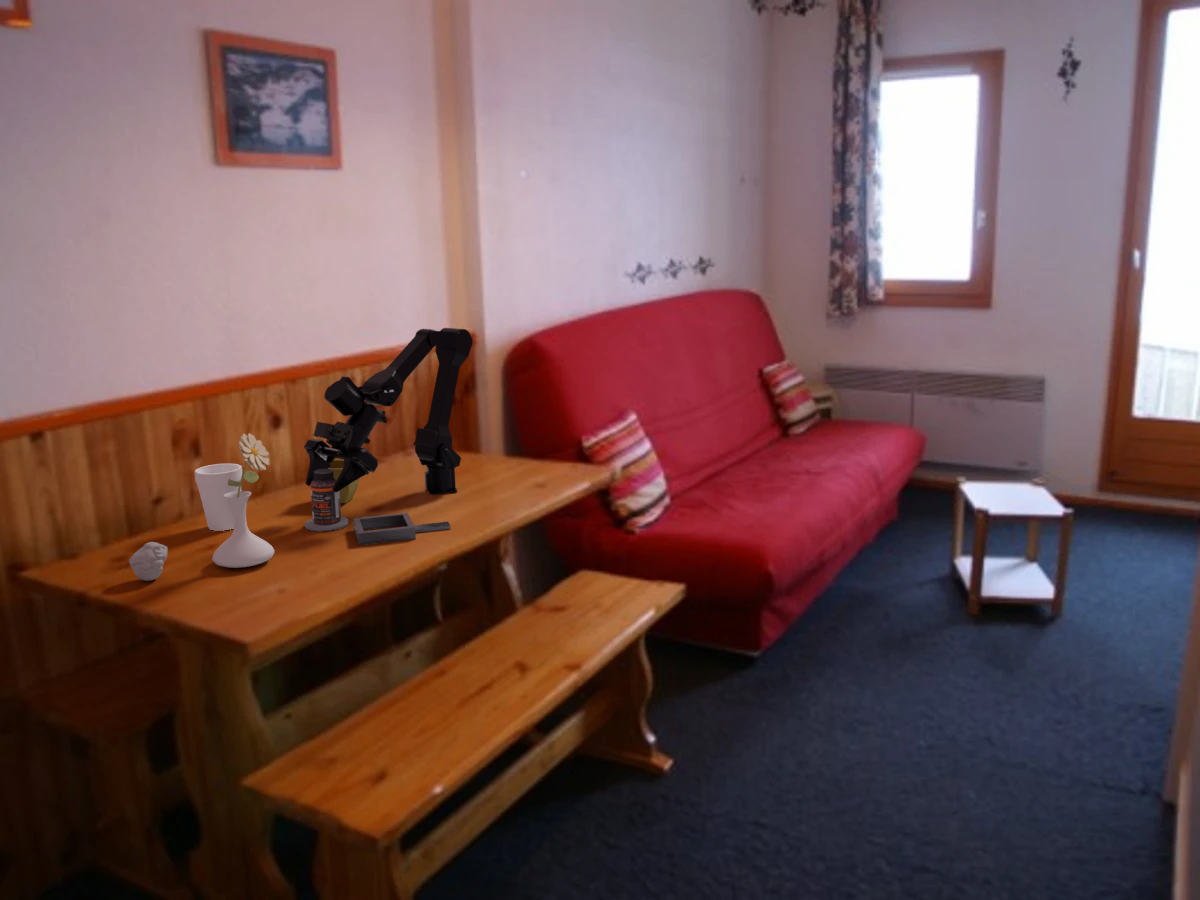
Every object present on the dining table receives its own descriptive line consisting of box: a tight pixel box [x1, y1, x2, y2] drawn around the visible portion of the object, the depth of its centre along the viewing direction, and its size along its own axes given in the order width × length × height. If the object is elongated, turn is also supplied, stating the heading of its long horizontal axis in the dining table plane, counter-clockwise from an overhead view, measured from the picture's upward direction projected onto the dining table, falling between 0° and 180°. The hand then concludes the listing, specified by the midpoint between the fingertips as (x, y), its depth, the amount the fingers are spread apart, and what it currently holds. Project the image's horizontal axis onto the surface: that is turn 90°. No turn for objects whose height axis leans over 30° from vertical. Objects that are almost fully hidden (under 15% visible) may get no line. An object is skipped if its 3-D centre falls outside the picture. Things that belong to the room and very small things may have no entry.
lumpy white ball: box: [128, 541, 169, 582], centre depth 191 cm, size 6×7×7 cm
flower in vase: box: [211, 433, 275, 569], centre depth 197 cm, size 13×11×25 cm
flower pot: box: [328, 459, 360, 504], centre depth 240 cm, size 9×9×9 cm
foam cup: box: [194, 463, 243, 532], centre depth 221 cm, size 10×9×13 cm
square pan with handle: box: [352, 512, 451, 546], centre depth 216 cm, size 19×11×2 cm, turn 108°
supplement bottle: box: [310, 469, 342, 525], centre depth 221 cm, size 6×6×11 cm
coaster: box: [304, 515, 349, 533], centre depth 222 cm, size 9×9×1 cm
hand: (320, 488), depth 220 cm, fingers open, 9 cm apart
